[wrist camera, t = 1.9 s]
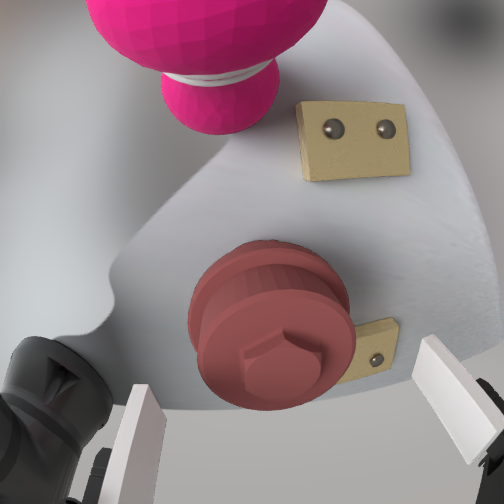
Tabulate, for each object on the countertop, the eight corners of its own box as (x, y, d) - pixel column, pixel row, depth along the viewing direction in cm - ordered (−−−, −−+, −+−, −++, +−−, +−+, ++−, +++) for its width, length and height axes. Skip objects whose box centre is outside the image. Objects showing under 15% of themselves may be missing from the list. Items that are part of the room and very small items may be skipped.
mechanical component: (280, 193, 22) (332, 288, 25) (176, 257, 23) (239, 339, 26) (336, 236, 10) (395, 379, 14) (134, 351, 11) (248, 448, 15)
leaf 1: (312, 376, 29) (317, 390, 27) (312, 335, 27) (318, 349, 25) (383, 358, 29) (391, 370, 27) (390, 317, 27) (400, 328, 25)
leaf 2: (303, 179, 22) (311, 181, 20) (294, 105, 20) (302, 100, 18) (397, 172, 22) (412, 175, 20) (392, 107, 20) (406, 104, 18)
